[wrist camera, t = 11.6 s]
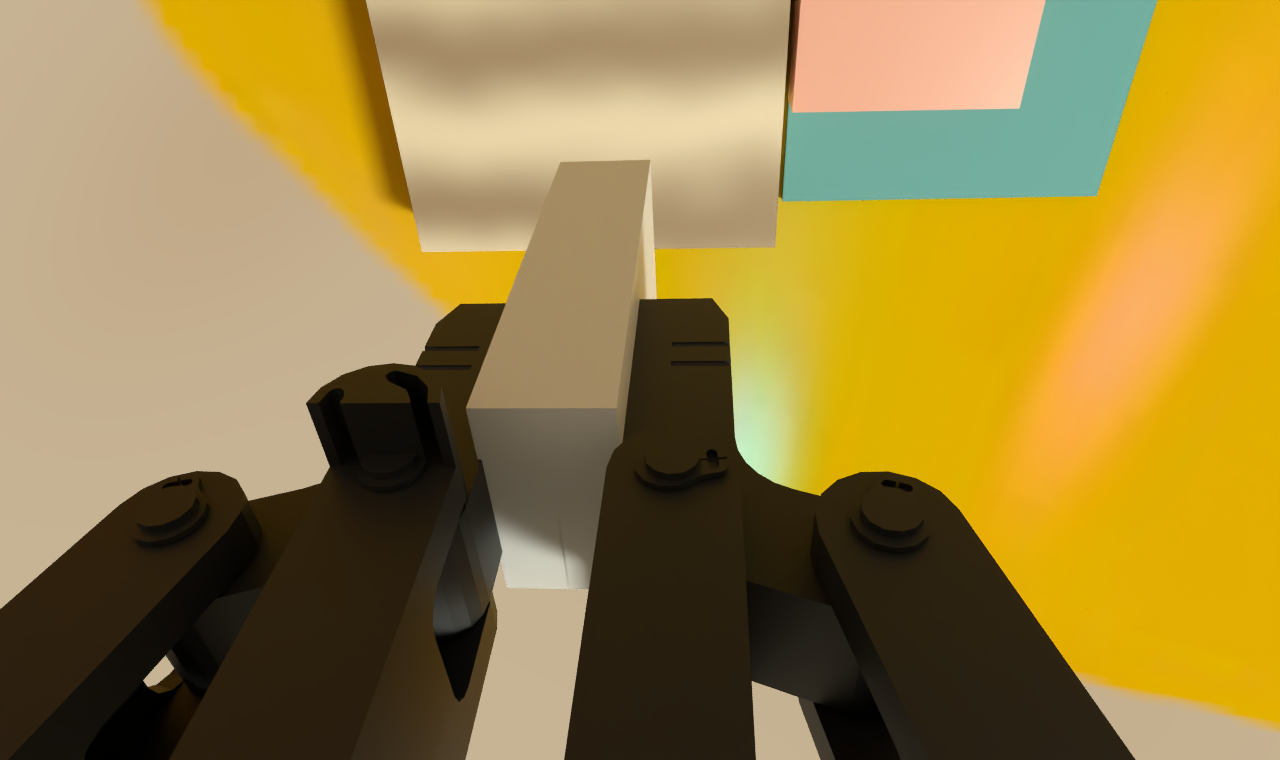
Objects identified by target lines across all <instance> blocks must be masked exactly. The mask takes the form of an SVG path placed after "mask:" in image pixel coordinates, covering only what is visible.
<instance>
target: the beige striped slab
mask: <svg viewBox="0 0 1280 760" xmlns="http://www.w3.org/2000/svg"><path fill="white" fill-rule="evenodd" d="M790 2H791V0H366V3H367V8H368V12H369V17H370V21H371V26H372V30H373V35H374V39H375V44H376V48H377V52H378V57H379V61H380V66H381V70H382V75H383V79H384V84H385V88H386V93H387V97H388V102H389V106H390V110H391V115H392V119H393V124H394V128H395V133H396V137H397V142H398V146H399V151H400V155H401V160H402V164H403V168H404V173H405V177H406V182H407V186H408V191H409V195H410V200H411V204H412V209H413V213H414V218H415V222H416V226H417V231H418V235H419V240H420V244H421V249H422V252H451V251H526V250H527V248H528V245H529V242H530V240H531V237H532V235H533V232H534V229H535V227H536V224H537V222H538V219H539V216H540V214H541V211H542V209H543V206H544V203H545V201H546V198H547V196H548V193H549V190H550V188H551V185H552V182H553V180H554V177H555V175H556V172H557V169H558V167H559V164H560V162H582V161H621V160H651V182H652V205H653V228H654V249H678V248H754V247H775V242H776V226H777V210H778V194H779V178H780V162H781V146H782V130H783V114H784V98H785V82H786V66H787V50H788V34H789V18H790Z"/></svg>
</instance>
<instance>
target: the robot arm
mask: <svg viewBox="0 0 1280 760" xmlns="http://www.w3.org/2000/svg"><path fill="white" fill-rule="evenodd" d="M306 405H307V407H308V410H309V412H310V415H311V418H312V420H313V423H314V426H315V428H316V431H317V434H318V436H319V439H320V441H321V444H322V447H323V449H324V452H325V455H326V457H327V460H328V462H329V465H330V468H329V470H328V471H327V473H326V475H325V477H324V479H323V480H322V482H321V483H320V484H317V485H313V486H310V487H307V488H304V489H299V490H295V491H291V492H286V493H282V494H277V495H273V496H268V497H264V498H259V499H255V500H251V501H248V500H247V497H246V495H245V493H244V491H243V490H242V488H241V487H240V485H239V483H238V481H237V480H236V479H234V478H232V477H230V476H227V475H225V474H223V473H221V472H203V471H196V472H191V473H186V474H182V475H177V476H173V477H169V478H167V479H164V480H162V481H160V482H157V483H155V484H153V485H151V486H148V487H146V488H144V489H142V490H140V491H139V492H138V493H136V494H135V495H133V496H132V497H131V498H129V499H127V500H126V501H125V502H123V503H122V504H120V505H119V506H118V507H117V508H115V509H114V510H113V511H112V512H111V513H110V514H109V515H107V516H106V517H105V518H104V519H103V520H102V521H101V522H99V524H97V525H96V526H95V527H94V528H93V529H91V530H90V531H89V532H88V533H87V534H86V535H85V536H83V538H81V539H80V540H79V541H78V542H77V543H75V544H74V545H73V546H72V547H71V548H70V549H69V550H67V551H66V552H65V553H64V554H63V555H62V556H61V557H60V558H58V559H57V560H56V561H55V562H54V563H53V564H52V565H50V566H49V567H48V568H47V569H46V570H45V571H44V572H42V573H41V574H40V575H39V576H38V577H37V578H36V579H34V580H33V581H32V582H31V583H30V584H29V585H28V586H26V587H25V588H24V589H23V590H22V591H21V592H20V593H19V594H17V595H16V596H15V597H14V598H13V599H12V600H10V601H9V602H8V603H7V604H6V605H5V606H4V607H3V608H1V609H0V760H465V758H466V754H467V750H468V746H469V742H470V737H471V734H472V729H473V725H474V721H475V717H476V713H477V709H478V705H479V701H480V696H481V692H482V688H483V684H484V680H485V675H486V672H487V667H488V663H489V659H490V655H491V650H492V647H493V643H494V638H495V634H496V630H497V609H496V605H495V601H494V597H493V593H492V590H493V586H494V582H495V578H496V574H497V571H498V566H499V563H500V559H501V564H502V568H503V572H504V576H505V581H506V585H507V588H549V589H550V588H551V589H552V588H553V589H589V592H588V599H587V606H586V612H585V619H584V626H583V633H582V640H581V648H580V655H579V662H578V668H577V675H576V682H575V689H574V696H573V703H572V710H571V716H570V723H569V730H568V738H567V745H566V752H565V759H564V760H756V755H755V736H754V718H753V700H752V683H751V682H752V681H754V682H757V683H759V684H762V685H765V686H768V687H771V688H774V689H777V690H780V691H783V692H786V693H789V694H792V695H794V696H797V697H798V698H799V703H800V705H801V708H802V711H803V714H804V716H805V719H806V722H807V724H808V727H809V730H810V732H811V735H812V737H813V740H814V743H815V746H816V748H817V751H818V754H819V757H820V759H821V760H1135V758H1134V757H1133V756H1132V754H1131V753H1130V751H1129V750H1128V748H1127V747H1126V746H1125V744H1124V743H1123V741H1122V740H1121V739H1120V737H1119V736H1118V735H1117V733H1116V731H1115V730H1114V729H1113V727H1112V726H1111V724H1110V723H1109V721H1108V720H1107V719H1106V717H1105V716H1104V715H1103V713H1102V712H1101V710H1100V709H1099V707H1098V706H1097V705H1096V703H1095V702H1094V700H1093V699H1092V697H1091V696H1090V695H1089V693H1088V692H1087V690H1086V689H1085V687H1084V686H1083V685H1082V683H1081V682H1080V680H1079V679H1078V678H1077V676H1076V675H1075V673H1074V672H1073V670H1072V669H1071V668H1070V666H1069V665H1068V663H1067V662H1066V660H1065V659H1064V658H1063V656H1062V655H1061V653H1060V652H1059V651H1058V649H1057V648H1056V646H1055V645H1054V643H1053V642H1052V641H1051V639H1050V638H1049V636H1048V635H1047V634H1046V632H1045V631H1044V629H1043V628H1042V626H1041V625H1040V624H1039V622H1038V621H1037V619H1036V618H1035V617H1034V615H1033V614H1032V612H1031V611H1030V609H1029V608H1028V607H1027V605H1026V604H1025V602H1024V601H1023V599H1022V598H1021V597H1020V595H1019V594H1018V592H1017V591H1016V590H1015V588H1014V587H1013V585H1012V584H1011V582H1010V581H1009V580H1008V578H1007V577H1006V575H1005V574H1004V573H1003V571H1002V570H1001V568H1000V567H999V565H998V564H997V563H996V561H995V560H994V558H993V557H992V555H991V554H990V553H989V551H988V550H987V548H986V547H985V546H984V544H983V543H982V541H981V540H980V538H979V537H978V536H977V534H976V533H975V531H974V530H973V529H972V527H971V526H970V524H969V523H968V521H967V520H966V519H965V517H964V516H963V514H962V513H961V512H960V510H959V509H958V508H957V507H956V506H955V505H954V504H953V503H952V502H951V501H950V500H949V499H948V498H947V497H946V496H945V495H944V494H943V493H942V492H941V491H939V490H937V489H935V488H933V487H932V486H930V485H928V484H926V483H924V482H922V481H920V480H918V479H916V478H913V477H909V476H904V475H900V474H896V473H892V472H860V473H857V474H854V475H851V476H848V477H845V478H842V479H839V480H837V481H836V482H835V483H833V484H832V485H831V486H830V487H829V488H828V489H826V490H825V491H824V492H823V493H822V494H821V496H818V495H814V494H810V493H806V492H802V491H798V490H794V489H791V488H788V487H785V486H782V485H780V484H777V483H774V482H772V481H770V480H769V479H767V478H765V477H763V476H762V475H760V474H758V473H757V472H756V471H755V470H754V469H753V468H751V467H750V466H749V465H748V464H747V463H746V462H745V460H744V459H743V457H742V456H741V454H740V453H739V451H738V449H737V445H736V441H735V432H734V414H733V395H732V377H731V358H730V340H729V321H728V317H727V316H726V315H725V314H724V312H723V311H722V310H721V309H720V308H719V306H718V305H717V304H716V303H715V301H714V300H713V299H712V298H702V299H657V297H656V274H655V251H654V228H653V205H652V182H651V160H621V161H582V162H560V164H559V167H558V169H557V172H556V175H555V177H554V180H553V182H552V185H551V188H550V190H549V193H548V196H547V198H546V201H545V203H544V206H543V209H542V211H541V214H540V216H539V219H538V222H537V224H536V227H535V229H534V232H533V235H532V237H531V240H530V242H529V245H528V248H527V250H526V253H525V255H524V258H523V261H522V263H521V266H520V268H519V271H518V274H517V276H516V279H515V282H514V284H513V287H512V289H511V292H510V295H509V297H508V300H507V302H506V303H503V304H460V305H459V306H458V307H456V308H455V309H454V310H453V311H451V312H450V313H449V314H448V315H447V316H445V317H444V318H443V319H442V320H440V321H439V322H438V323H437V324H436V325H435V328H434V329H433V331H432V333H431V335H430V337H429V339H428V342H427V343H426V346H425V351H423V352H422V353H421V355H420V357H419V359H418V361H417V364H416V366H412V365H403V364H395V363H393V364H384V365H375V366H368V367H365V368H362V369H359V370H356V371H353V372H350V373H346V374H344V375H341V376H340V377H338V378H336V379H335V380H333V381H331V382H330V383H328V384H326V385H325V386H323V387H321V388H320V389H319V390H318V391H317V392H316V393H315V394H314V395H313V396H312V397H311V399H310V400H309V401H308V402H307V403H306ZM165 655H166V657H167V658H168V660H169V661H170V662H171V664H172V666H173V667H174V670H173V671H172V672H171V673H170V674H169V675H168V676H167V677H165V678H164V679H163V680H162V681H160V682H159V683H158V684H157V685H154V686H150V687H147V686H146V684H145V683H144V681H143V680H144V679H145V677H146V676H147V675H148V674H149V673H150V672H151V671H152V669H154V667H155V666H156V665H157V664H158V663H159V662H160V661H161V659H162V658H163V657H164V656H165Z"/></svg>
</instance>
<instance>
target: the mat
mask: <svg viewBox="0 0 1280 760" xmlns="http://www.w3.org/2000/svg"><path fill="white" fill-rule="evenodd" d="M1156 2H1157V0H1046V1H1045V5H1044V9H1043V13H1042V17H1041V21H1040V26H1039V30H1038V34H1037V38H1036V42H1035V46H1034V50H1033V55H1032V59H1031V63H1030V67H1029V71H1028V75H1027V79H1026V84H1025V88H1024V92H1023V96H1022V100H1021V104H1020V108H1019V109H966V110H911V111H856V112H801V113H792V110H791V107H790V104H789V101H788V114H787V130H786V145H785V160H784V175H783V191H782V201H831V200H889V199H947V198H1005V197H1062V196H1097V193H1098V190H1099V186H1100V183H1101V180H1102V177H1103V173H1104V170H1105V167H1106V164H1107V161H1108V157H1109V154H1110V151H1111V148H1112V144H1113V141H1114V138H1115V135H1116V132H1117V128H1118V125H1119V122H1120V119H1121V115H1122V112H1123V109H1124V106H1125V102H1126V99H1127V96H1128V93H1129V90H1130V86H1131V83H1132V80H1133V77H1134V73H1135V70H1136V67H1137V64H1138V61H1139V57H1140V54H1141V51H1142V48H1143V44H1144V41H1145V38H1146V35H1147V32H1148V28H1149V25H1150V22H1151V19H1152V15H1153V12H1154V9H1155V6H1156Z"/></svg>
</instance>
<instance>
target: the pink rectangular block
mask: <svg viewBox="0 0 1280 760" xmlns="http://www.w3.org/2000/svg"><path fill="white" fill-rule="evenodd" d="M1045 1H1046V0H795V4H794V18H793V32H792V46H791V60H790V73H789V87H788V101H789V104H790V107H791V110H792V113H801V112H856V111H911V110H966V109H1019V108H1020V104H1021V100H1022V96H1023V92H1024V88H1025V84H1026V79H1027V75H1028V71H1029V67H1030V63H1031V59H1032V55H1033V50H1034V46H1035V42H1036V38H1037V34H1038V30H1039V26H1040V21H1041V17H1042V13H1043V9H1044V5H1045Z"/></svg>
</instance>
